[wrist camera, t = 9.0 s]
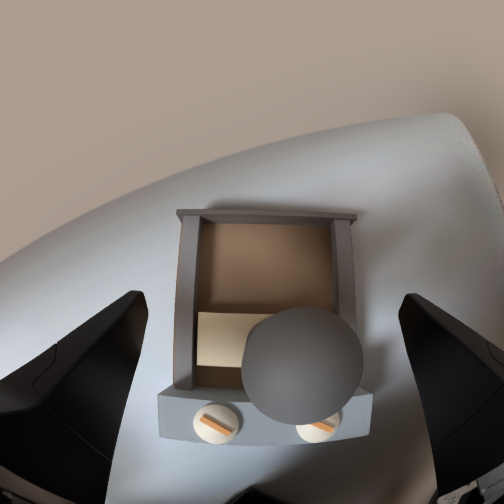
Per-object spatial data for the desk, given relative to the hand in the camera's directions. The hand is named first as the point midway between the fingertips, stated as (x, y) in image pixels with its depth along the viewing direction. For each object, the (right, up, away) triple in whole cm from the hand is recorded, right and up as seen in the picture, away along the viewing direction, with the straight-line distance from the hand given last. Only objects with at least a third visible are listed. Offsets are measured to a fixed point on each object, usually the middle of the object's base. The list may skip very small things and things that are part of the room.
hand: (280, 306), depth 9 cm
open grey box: (0, -3, +8) cm, 9 cm away
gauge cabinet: (0, -8, +7) cm, 10 cm away
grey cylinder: (0, -3, +7) cm, 8 cm away
